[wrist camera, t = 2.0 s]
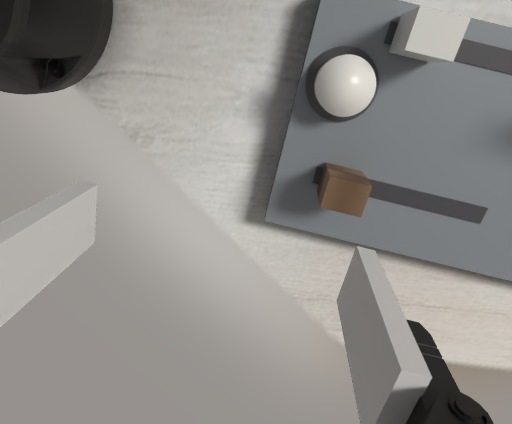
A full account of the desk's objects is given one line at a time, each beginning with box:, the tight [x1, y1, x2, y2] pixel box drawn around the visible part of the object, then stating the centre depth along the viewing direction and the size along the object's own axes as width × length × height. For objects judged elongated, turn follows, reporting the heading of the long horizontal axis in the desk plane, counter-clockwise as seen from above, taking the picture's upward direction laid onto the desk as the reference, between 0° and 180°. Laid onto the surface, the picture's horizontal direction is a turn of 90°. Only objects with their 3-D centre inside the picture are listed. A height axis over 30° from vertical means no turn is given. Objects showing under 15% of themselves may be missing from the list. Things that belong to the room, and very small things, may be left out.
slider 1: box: [317, 162, 372, 218], centre depth 28 cm, size 3×2×4 cm
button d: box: [314, 54, 376, 117], centre depth 26 cm, size 4×4×2 cm
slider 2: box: [389, 6, 471, 63], centre depth 23 cm, size 3×2×4 cm
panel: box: [264, 0, 512, 281], centre depth 28 cm, size 28×18×5 cm, turn 77°
